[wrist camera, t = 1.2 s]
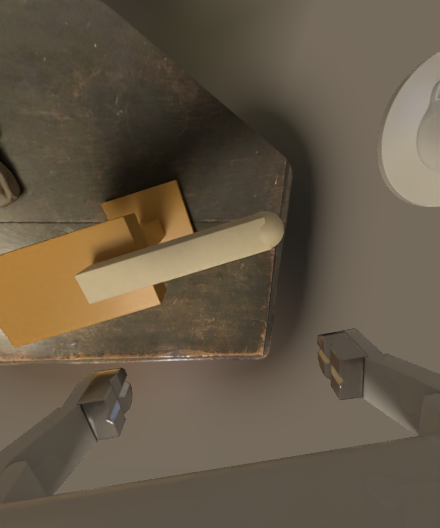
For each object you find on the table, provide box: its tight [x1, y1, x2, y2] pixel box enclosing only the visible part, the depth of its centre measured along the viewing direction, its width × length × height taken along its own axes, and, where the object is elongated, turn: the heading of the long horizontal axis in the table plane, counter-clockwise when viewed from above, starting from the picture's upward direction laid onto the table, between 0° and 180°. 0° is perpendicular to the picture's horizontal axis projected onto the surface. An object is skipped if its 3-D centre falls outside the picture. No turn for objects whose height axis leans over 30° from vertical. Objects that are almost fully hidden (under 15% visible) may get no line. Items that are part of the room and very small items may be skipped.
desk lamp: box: [0, 180, 195, 348], centre depth 32 cm, size 18×14×27 cm
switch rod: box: [75, 211, 284, 304], centre depth 18 cm, size 15×3×3 cm, turn 107°
